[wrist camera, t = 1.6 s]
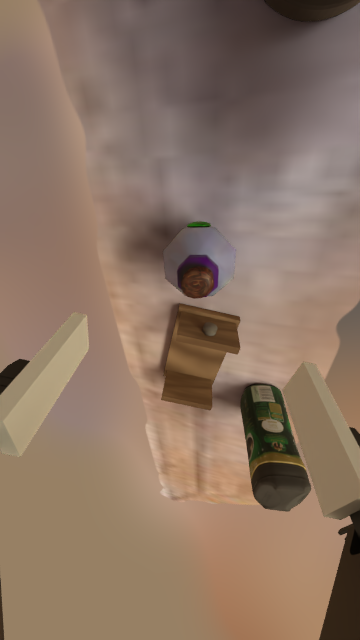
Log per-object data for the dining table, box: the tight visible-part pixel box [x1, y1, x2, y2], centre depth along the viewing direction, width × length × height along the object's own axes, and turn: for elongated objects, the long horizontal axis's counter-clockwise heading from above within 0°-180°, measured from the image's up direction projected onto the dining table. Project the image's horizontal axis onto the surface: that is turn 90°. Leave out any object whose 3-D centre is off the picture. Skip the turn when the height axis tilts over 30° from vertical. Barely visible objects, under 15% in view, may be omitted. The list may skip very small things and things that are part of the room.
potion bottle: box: [163, 221, 236, 298], centre depth 26 cm, size 9×9×12 cm
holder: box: [161, 304, 240, 410], centre depth 39 cm, size 17×10×7 cm, turn 169°
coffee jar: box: [241, 384, 311, 511], centre depth 41 cm, size 10×8×19 cm
